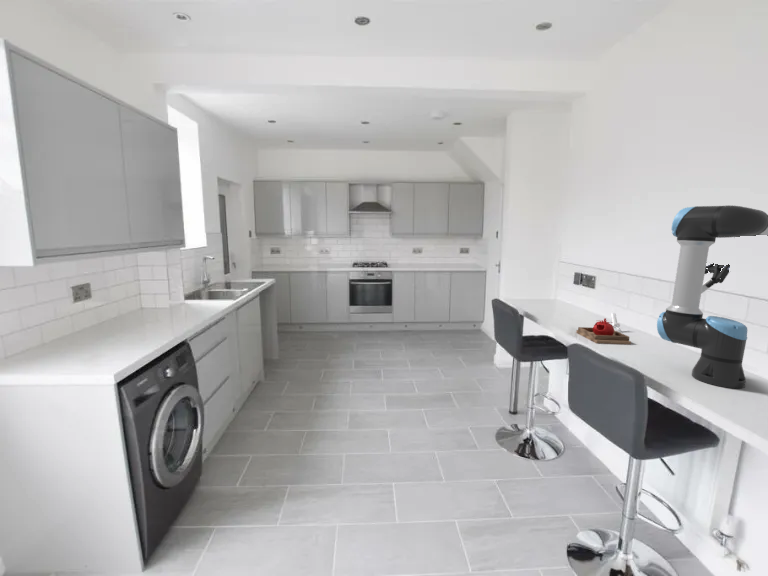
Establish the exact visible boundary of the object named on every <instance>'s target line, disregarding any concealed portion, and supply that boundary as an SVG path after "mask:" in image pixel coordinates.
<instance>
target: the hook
mask: <svg viewBox="0 0 768 576" xmlns="http://www.w3.org/2000/svg"><path fill="white" fill-rule="evenodd" d="M610 315H611V320H612V321H611V322H612V323H611V325H612V326H613V327H614V330H615V331H617V332H620V333H622V330H621V329H622V328H620V326H621V324H620V323H619V322H618V320H617V315H616V313H615V312H611V313H610Z"/></svg>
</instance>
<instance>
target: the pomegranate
mask: <svg viewBox="0 0 768 576" xmlns="http://www.w3.org/2000/svg"><path fill="white" fill-rule="evenodd" d="M612 323H613V322H612V321H610V322H609V321H608V320H607V318H603V320H602V319H599V320H596V322H595V323H594V324H593V327H592V328H593V333H594V334H596V335H609V336H613V334H614V327H613V326H612Z"/></svg>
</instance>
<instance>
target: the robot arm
mask: <svg viewBox="0 0 768 576" xmlns="http://www.w3.org/2000/svg"><path fill="white" fill-rule="evenodd" d="M671 233H672V235H673V236H674V237H675V238H676V242H677V243H678V244H679V245H680V248H679V254H678V255H679V256H678V261H677V268H676V273H675V280H674V287H673V292H672V293H673V294H672V300H671V304H670V306H667V307H666V309H665V311H662V312H661V313H660V314H659V316H658V318H657V320H656V321H657V322H656V329H657V334H658V335H659V336H660V338H661V339H662V340H664V341H667V342H671V343H673V344H680V345H682V346H687V347H693V348H694V349H695V348H697V349H701V352H700V357H699V359H698V360H697V361H696V364H695V365H694V366H693V368H692V370H691V377H692V378H694V379H695V380H698V381H700V382H703V383H706V384H710V385H712V386H713V385H714V386H716V387H717V386H718V387H722V388H728V389H742V388H743V389H744V388H745V387H746V382H747V379H746V376H745V372H744V368H743V361H744V357H745V356H744V355H745V350H746V345H747V340H748V327H747V326H746V324H744V323H742V322H739V321H737V320H736V319H735V320H734V319H730V318H726V317H723V316H722V317H721V316H715V315H708V316H707V317H706V318H703V317H704V316H703V315H704V312H703V311H702V310H701V309H700V303H701V299H702V298H701V297H702V294H704V293H705V292H706V291H707V290H709V289H710V288H711V287H712V286H714V285H715V284H722V283H723V282H724V281H725V280H726V278H727V276H728V275H729V274H730V272H729V268H730V265H729V264H728V265H726V266H724V265H718V264H715V266H713V265H714V263H713V262H712V263H713V264H711V263H710V265H708V266H706V263H707V262H708V255H709V248H710V247H711V246H713V245H714V244H715V243H716V239H718V238H719V239H720V238H735V237H740V236H756V235H767V236H768V214H767V213H766V212H765V211H763V210H760V209H755V208H752V207H751V208H750V207H747V206H739V205H704V206H703V205H701V206H690V207H688V206H687V207H683V208H682V209H680V210H679V211H678V212H677V213H676V215H675V216H674V218H673V220H672V224H671ZM723 267H724V268H723ZM706 268H708V269H706ZM721 268H723V269H722V271H721ZM708 271H709V272H710V274H712V277H710V278H709V279H707V280H706V281H705V282H704V279H705V275H707V273H708ZM720 271H721V272H720Z"/></svg>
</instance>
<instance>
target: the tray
mask: <svg viewBox="0 0 768 576" xmlns="http://www.w3.org/2000/svg"><path fill="white" fill-rule="evenodd" d="M575 333H576V334H577V335H579V336H582V337H584V338H586V339H587V340H589V341H591V342H594V343H595V344H603V345H604V344H607V345H608V344H609V345H610V344H611V345H631V344H632V341H631V340H630V336H629V335H626V334H624V333H622V332H621V333H620V332H617V331H615V330H614V334H613V336H609V335H596V334H594V333H593V327H584V326H583V327H582V326H578V329H576V332H575Z"/></svg>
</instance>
